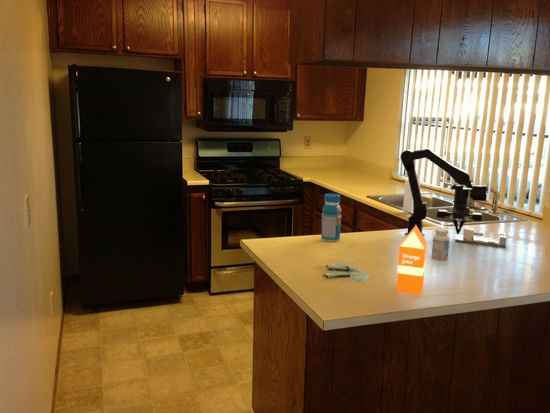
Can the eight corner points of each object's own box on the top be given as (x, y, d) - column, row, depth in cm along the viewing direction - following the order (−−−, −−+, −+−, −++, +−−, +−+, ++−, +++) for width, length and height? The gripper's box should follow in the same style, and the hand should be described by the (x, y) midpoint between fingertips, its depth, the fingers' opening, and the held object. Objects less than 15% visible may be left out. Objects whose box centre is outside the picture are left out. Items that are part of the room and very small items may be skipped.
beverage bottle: (324, 242, 211) (326, 196, 207) (318, 237, 219) (320, 193, 215) (342, 241, 212) (345, 196, 209) (336, 236, 220) (338, 192, 217)
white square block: (462, 239, 214) (463, 230, 213) (463, 235, 221) (464, 226, 221) (482, 241, 211) (483, 232, 210) (483, 237, 218) (484, 228, 217)
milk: (411, 214, 274) (414, 174, 269) (402, 212, 278) (405, 173, 274) (418, 213, 277) (421, 174, 273) (409, 211, 282) (412, 172, 278)
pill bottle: (442, 255, 195) (445, 227, 193) (450, 259, 189) (453, 231, 187) (428, 255, 194) (430, 228, 192) (436, 260, 188) (438, 231, 186)
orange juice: (395, 291, 155) (400, 229, 151) (399, 282, 163) (403, 223, 159) (421, 294, 152) (426, 231, 148) (423, 285, 160) (428, 225, 157)
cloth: (372, 286, 161) (372, 279, 160) (305, 281, 164) (305, 274, 164) (371, 267, 180) (371, 261, 180) (311, 263, 184) (312, 257, 184)
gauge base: (455, 242, 216) (455, 232, 215) (456, 236, 225) (457, 227, 224) (505, 247, 208) (506, 237, 207) (505, 242, 217) (506, 232, 216)
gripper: (436, 200, 213) (433, 235, 216) (483, 204, 206) (479, 240, 209) (439, 196, 223) (436, 230, 226) (484, 200, 216) (480, 235, 219)
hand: (457, 234), depth 220 cm, fingers closed
